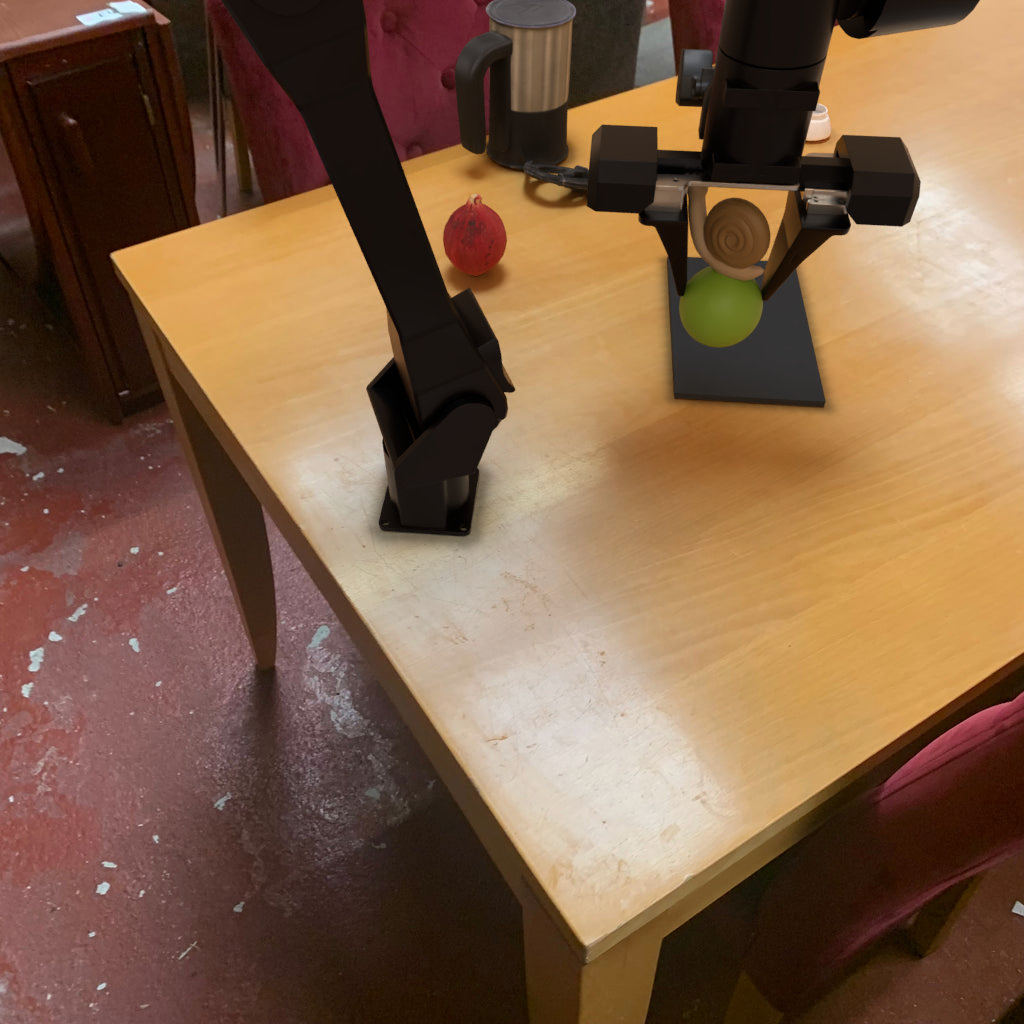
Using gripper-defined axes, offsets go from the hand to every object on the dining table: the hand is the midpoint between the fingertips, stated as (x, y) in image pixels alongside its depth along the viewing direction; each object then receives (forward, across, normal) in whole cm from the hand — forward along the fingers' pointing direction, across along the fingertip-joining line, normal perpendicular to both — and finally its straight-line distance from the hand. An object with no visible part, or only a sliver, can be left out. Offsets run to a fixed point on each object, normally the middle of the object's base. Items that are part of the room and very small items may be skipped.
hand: (722, 294), depth 59 cm
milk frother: (+13, +15, -41) cm, 46 cm away
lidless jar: (+14, -15, -53) cm, 57 cm away
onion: (+13, +20, -20) cm, 31 cm away
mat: (+13, -4, -15) cm, 20 cm away
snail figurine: (+4, 0, 0) cm, 4 cm away
